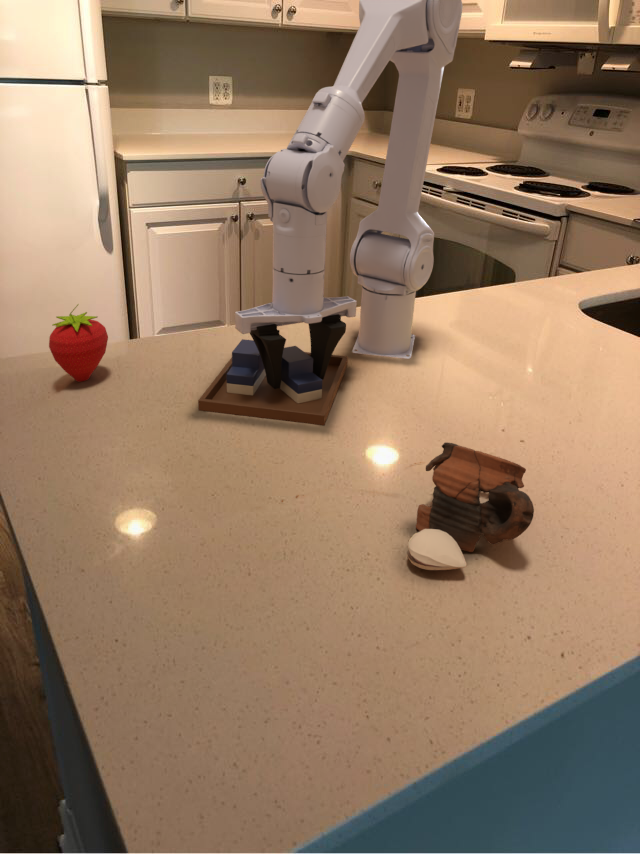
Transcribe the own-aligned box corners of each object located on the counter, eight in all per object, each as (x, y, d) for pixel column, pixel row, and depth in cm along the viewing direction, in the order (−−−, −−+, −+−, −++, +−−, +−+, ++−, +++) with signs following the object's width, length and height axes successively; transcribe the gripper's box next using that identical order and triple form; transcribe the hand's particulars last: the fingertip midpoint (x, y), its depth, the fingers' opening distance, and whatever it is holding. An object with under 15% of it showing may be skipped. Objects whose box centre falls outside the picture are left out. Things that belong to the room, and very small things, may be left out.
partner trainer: (243, 369, 89) (242, 338, 87) (267, 372, 88) (268, 340, 86) (226, 392, 83) (225, 359, 81) (253, 395, 82) (253, 362, 80)
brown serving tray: (241, 357, 94) (241, 345, 93) (347, 369, 92) (347, 356, 91) (198, 414, 79) (197, 400, 78) (324, 430, 77) (324, 415, 76)
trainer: (270, 380, 86) (270, 348, 84) (293, 376, 88) (294, 344, 86) (297, 403, 81) (298, 370, 79) (321, 398, 82) (323, 365, 80)
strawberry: (123, 375, 87) (116, 297, 83) (84, 399, 81) (73, 316, 76) (84, 367, 89) (74, 289, 84) (42, 389, 83) (29, 307, 78)
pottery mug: (386, 518, 63) (414, 430, 63) (460, 536, 69) (486, 455, 68) (479, 564, 53) (513, 460, 53) (557, 581, 58) (589, 486, 58)
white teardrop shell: (424, 540, 60) (428, 515, 59) (477, 565, 57) (481, 540, 56) (396, 564, 57) (399, 539, 56) (450, 592, 54) (454, 566, 53)
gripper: (253, 284, 71) (254, 406, 77) (374, 270, 78) (365, 383, 84) (226, 267, 76) (228, 381, 83) (341, 254, 83) (335, 361, 89)
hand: (295, 381), depth 84 cm, fingers open, 5 cm apart
